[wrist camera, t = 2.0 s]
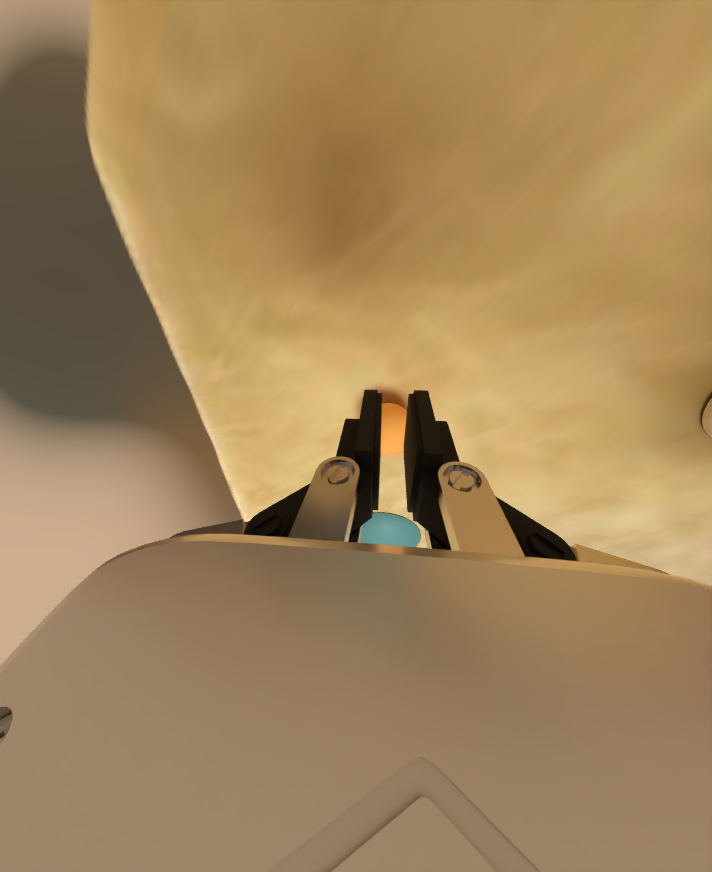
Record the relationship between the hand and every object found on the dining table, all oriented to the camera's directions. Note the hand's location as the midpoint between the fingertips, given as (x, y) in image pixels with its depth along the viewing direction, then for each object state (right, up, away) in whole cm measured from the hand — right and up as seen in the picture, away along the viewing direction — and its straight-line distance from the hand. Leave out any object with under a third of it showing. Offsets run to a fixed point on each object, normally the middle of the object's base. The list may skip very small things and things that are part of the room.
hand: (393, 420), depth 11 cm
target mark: (+3, -18, +33) cm, 38 cm away
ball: (+2, 0, +16) cm, 16 cm away
